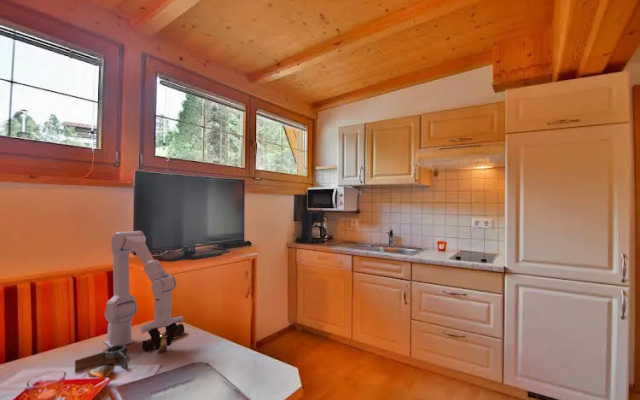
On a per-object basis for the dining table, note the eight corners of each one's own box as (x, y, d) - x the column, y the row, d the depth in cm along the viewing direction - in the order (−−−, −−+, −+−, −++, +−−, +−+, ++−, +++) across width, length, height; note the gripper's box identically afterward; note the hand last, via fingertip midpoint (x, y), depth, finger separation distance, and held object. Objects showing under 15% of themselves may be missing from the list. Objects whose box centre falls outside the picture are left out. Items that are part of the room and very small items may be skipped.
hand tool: (148, 352, 111) (148, 339, 111) (140, 350, 112) (141, 338, 113) (188, 334, 128) (189, 323, 129) (181, 332, 130) (182, 321, 130)
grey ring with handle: (100, 359, 105) (101, 349, 105) (122, 353, 110) (122, 343, 110) (114, 372, 96) (115, 361, 96) (137, 365, 101) (137, 354, 101)
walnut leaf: (72, 368, 99) (73, 357, 99) (122, 353, 110) (122, 343, 110) (77, 374, 95) (78, 363, 95) (128, 358, 106) (129, 348, 106)
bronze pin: (154, 352, 111) (155, 335, 111) (165, 348, 114) (165, 332, 114) (159, 355, 108) (159, 337, 109) (169, 351, 111) (170, 334, 112)
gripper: (146, 316, 104) (145, 357, 103) (187, 306, 115) (186, 343, 114) (138, 312, 108) (137, 351, 107) (178, 303, 119) (178, 338, 119)
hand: (162, 347), depth 111 cm, fingers closed on bronze pin, 4 cm apart
